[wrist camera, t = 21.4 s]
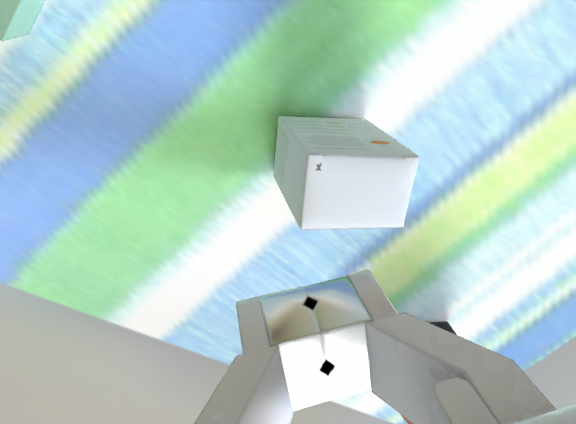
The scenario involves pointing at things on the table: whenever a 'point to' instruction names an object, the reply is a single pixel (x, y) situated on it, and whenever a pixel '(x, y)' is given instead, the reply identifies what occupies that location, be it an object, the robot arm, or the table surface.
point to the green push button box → (18, 17)
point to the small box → (342, 173)
